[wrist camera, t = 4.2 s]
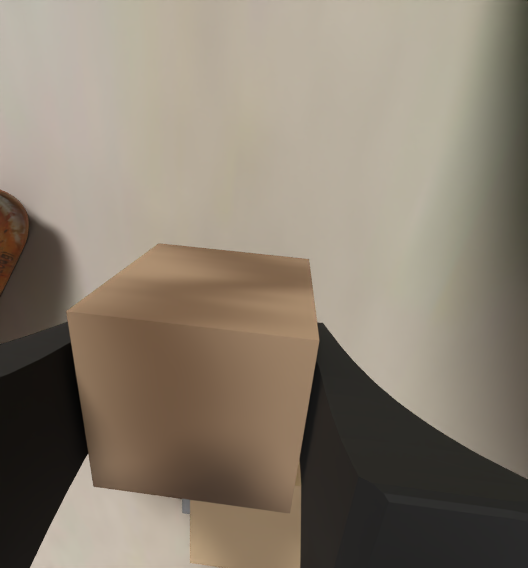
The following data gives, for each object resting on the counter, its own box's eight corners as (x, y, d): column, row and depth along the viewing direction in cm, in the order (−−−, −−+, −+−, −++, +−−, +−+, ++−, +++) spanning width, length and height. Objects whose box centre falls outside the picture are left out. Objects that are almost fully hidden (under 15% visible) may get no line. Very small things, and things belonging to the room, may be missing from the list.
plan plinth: (364, 408, 19) (381, 472, 15) (334, 527, 22) (342, 600, 19) (183, 386, 19) (157, 443, 15) (184, 507, 23) (163, 575, 19)
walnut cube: (309, 259, 11) (319, 340, 7) (291, 383, 13) (289, 513, 8) (158, 243, 11) (66, 311, 7) (163, 367, 13) (93, 486, 9)
